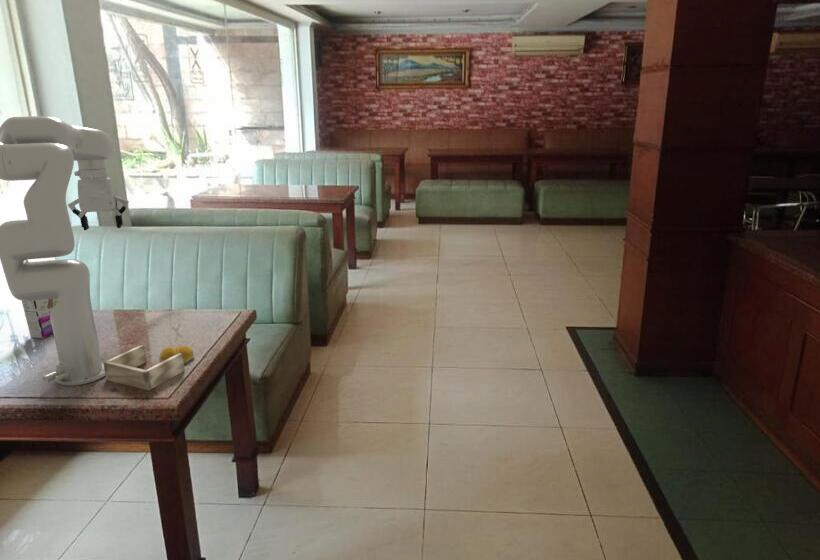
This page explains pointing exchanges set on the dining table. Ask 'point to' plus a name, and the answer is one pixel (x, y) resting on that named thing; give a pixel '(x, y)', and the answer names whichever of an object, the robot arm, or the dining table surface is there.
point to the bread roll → (172, 351)
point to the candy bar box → (39, 316)
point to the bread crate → (128, 374)
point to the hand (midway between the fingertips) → (103, 228)
